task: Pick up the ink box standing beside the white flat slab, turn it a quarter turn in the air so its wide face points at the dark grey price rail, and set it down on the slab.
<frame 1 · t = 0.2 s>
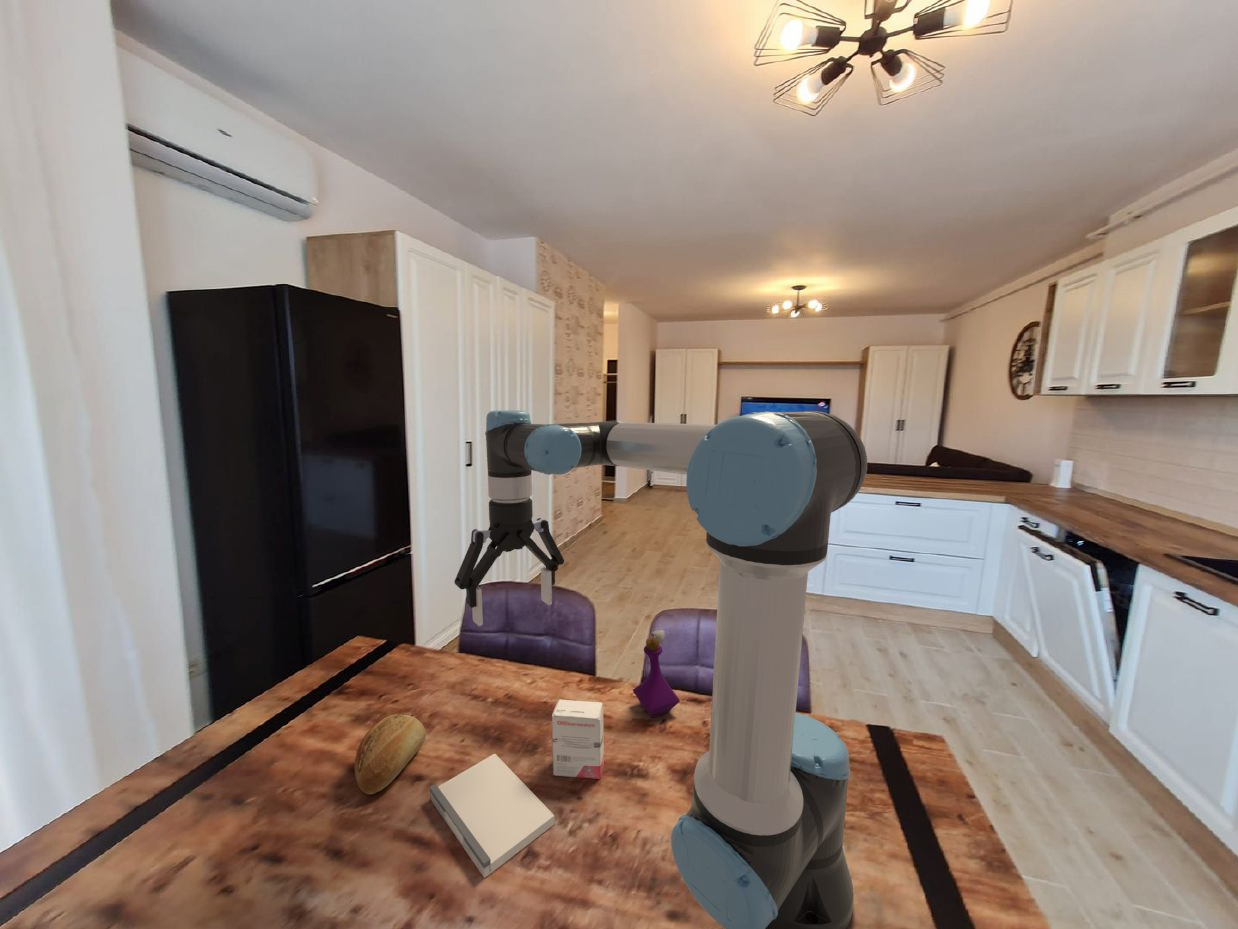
hand: (513, 612, 86), 27 cm above the table, fingers open, 13 cm apart
white flat slab: (490, 811, 76), on the table
perfume bottle: (655, 710, 101), on the table
bread roll: (391, 767, 85), on the table
ink box: (579, 769, 85), on the table
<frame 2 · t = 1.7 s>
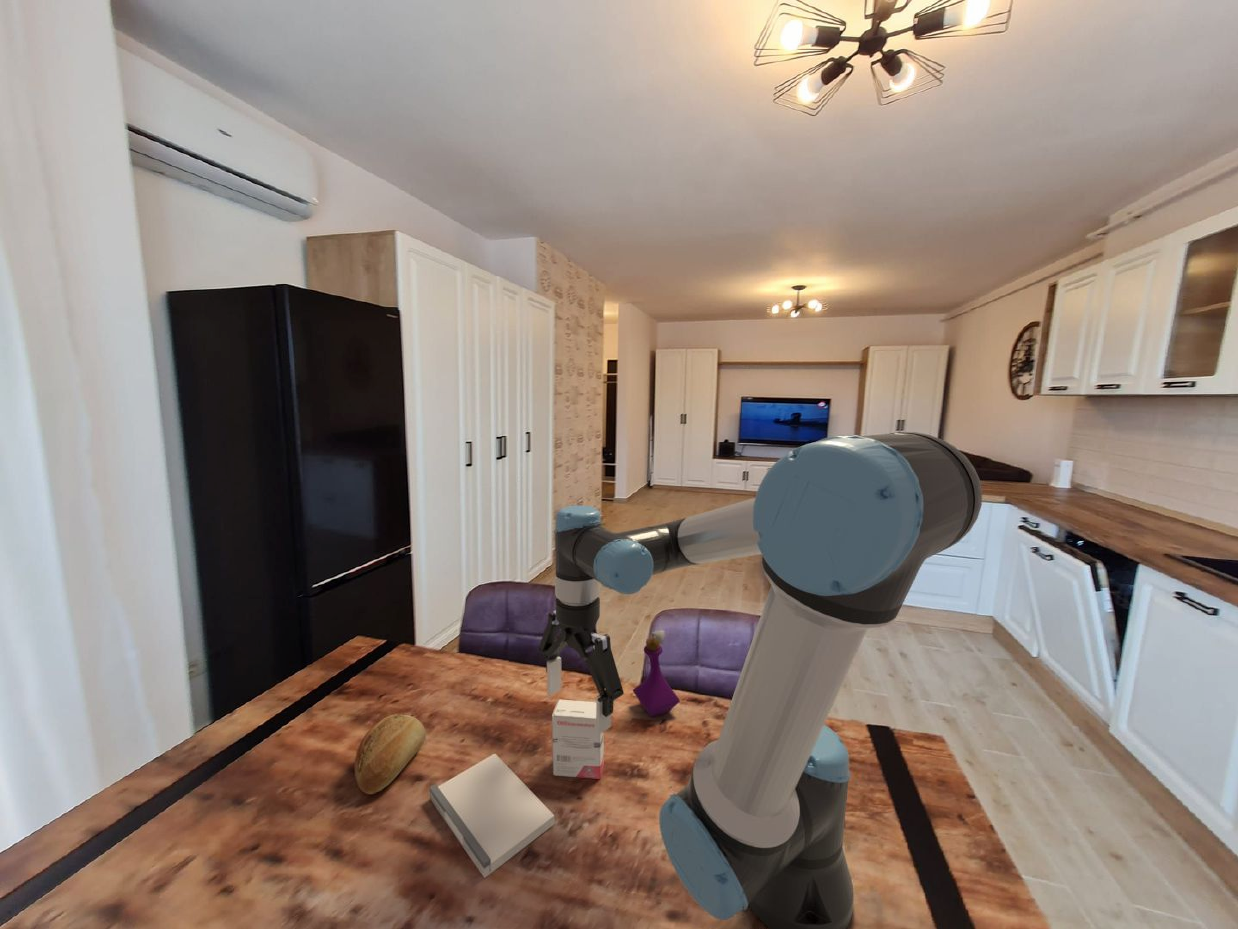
hand: (577, 710, 84), 11 cm above the table, fingers open, 13 cm apart
nothing on the table moved.
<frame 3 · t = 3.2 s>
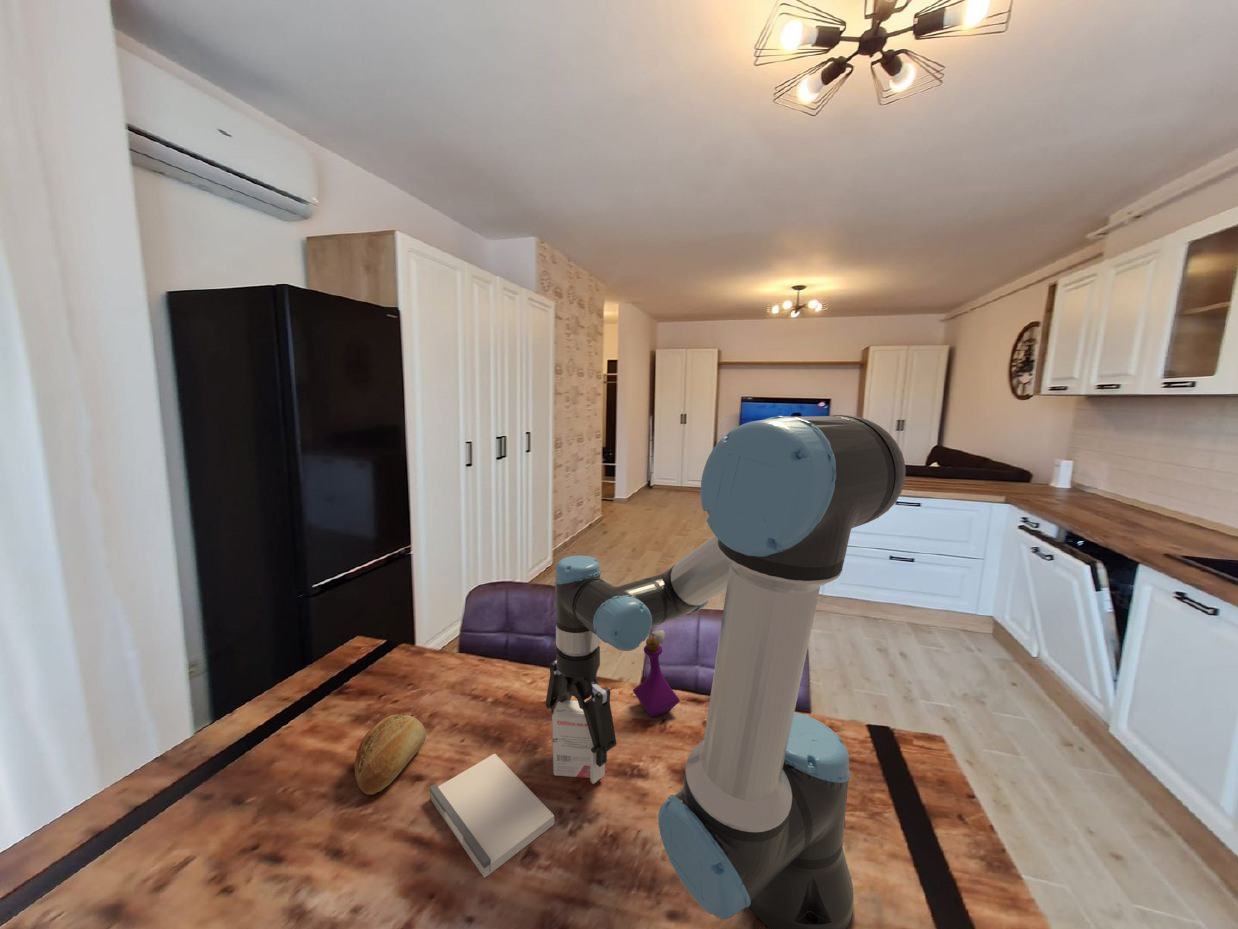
hand: (579, 762, 85), 1 cm above the table, fingers closed on ink box, 9 cm apart
ink box: (579, 769, 85), on the table, touching gripper
everything else where it was.
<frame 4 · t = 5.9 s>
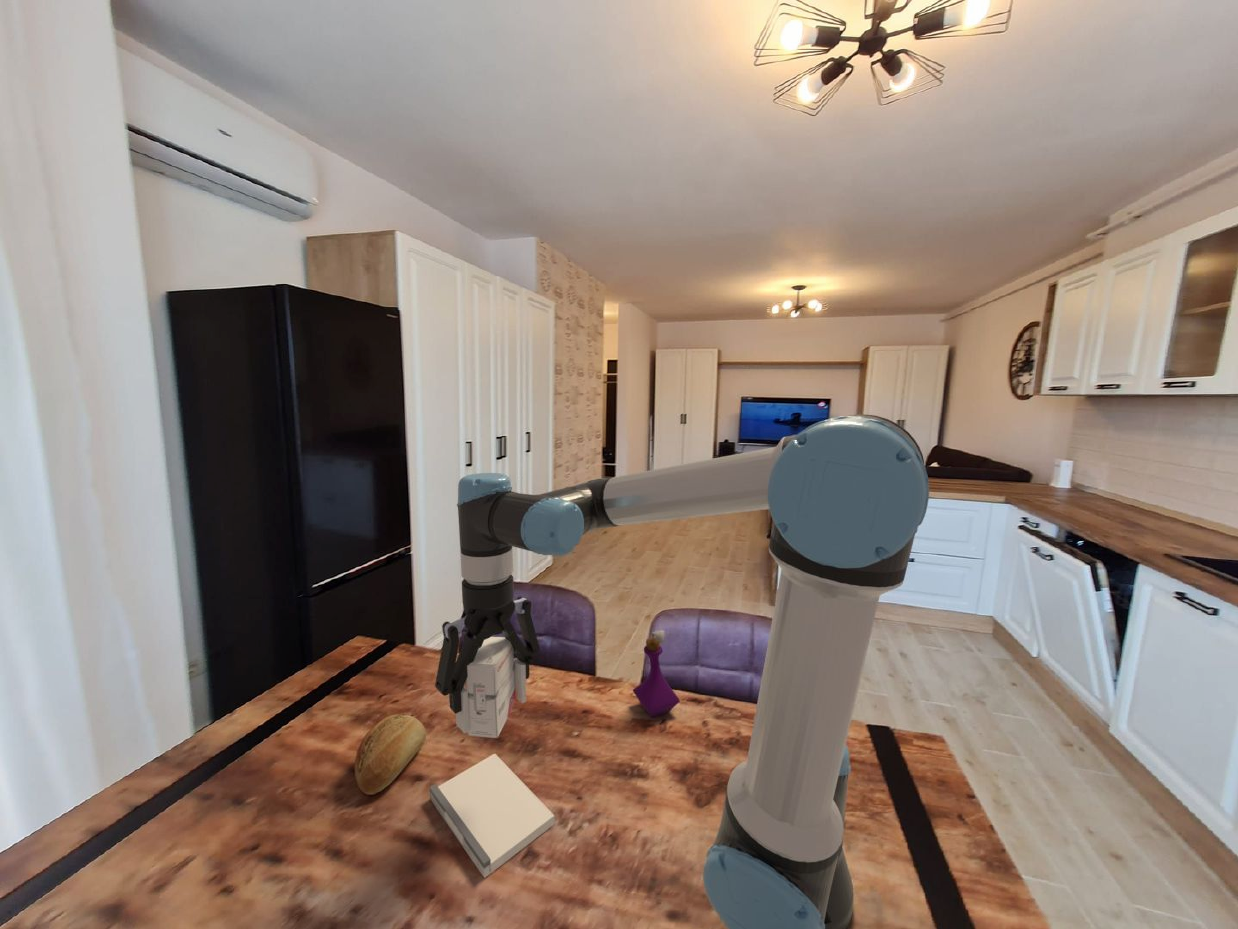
hand: (492, 712, 74), 17 cm above the table, fingers closed on ink box, 9 cm apart
ink box: (493, 720, 74), point 16 cm above the table, touching gripper
everything else where it was.
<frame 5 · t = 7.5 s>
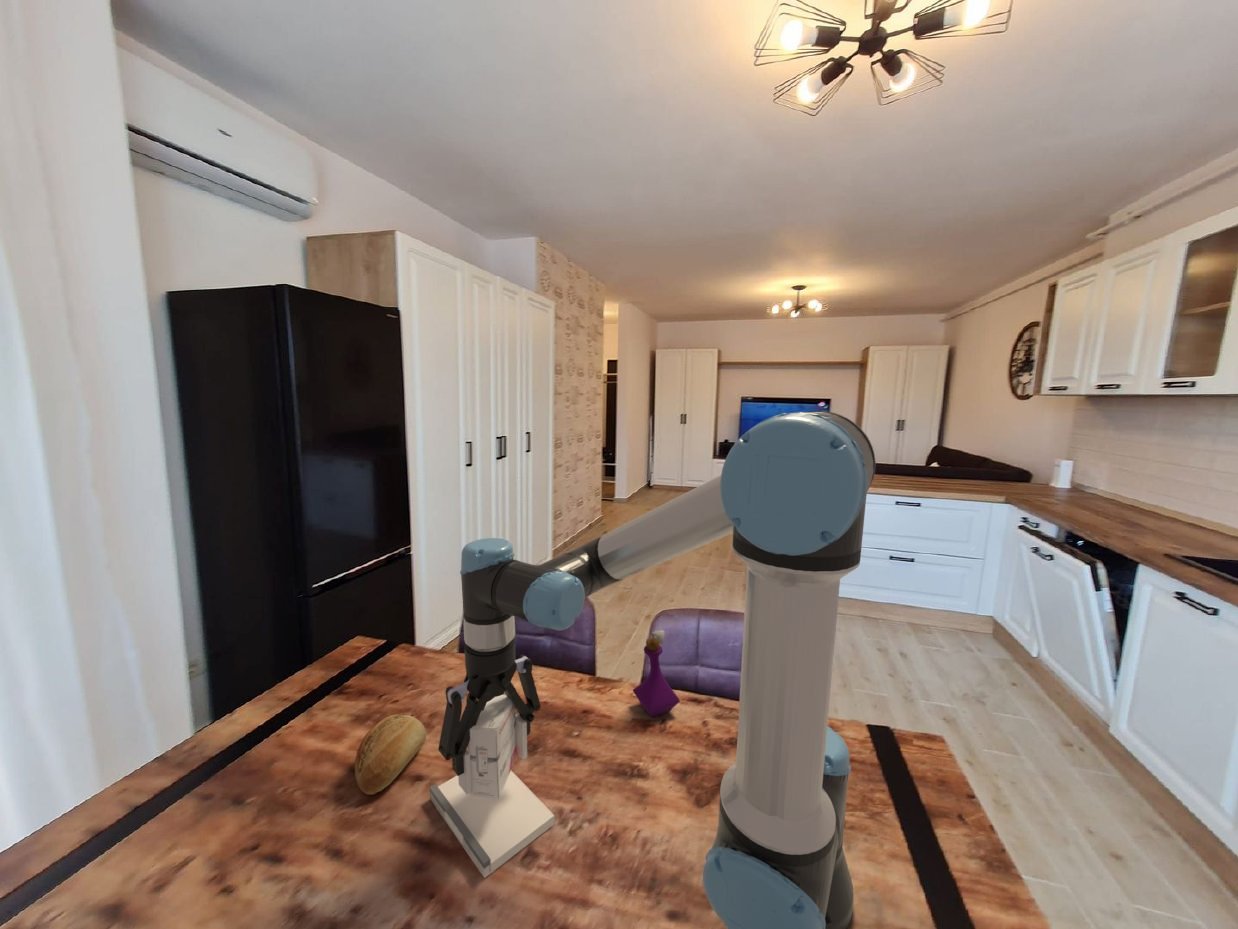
hand: (494, 770, 76), 7 cm above the table, fingers closed on ink box, 9 cm apart
ink box: (494, 777, 76), point 5 cm above the table, touching gripper
everything else where it was.
when the fingers open (4 cm above the table, at t = 8.6 s): ink box drops 1 cm, resting on white flat slab.
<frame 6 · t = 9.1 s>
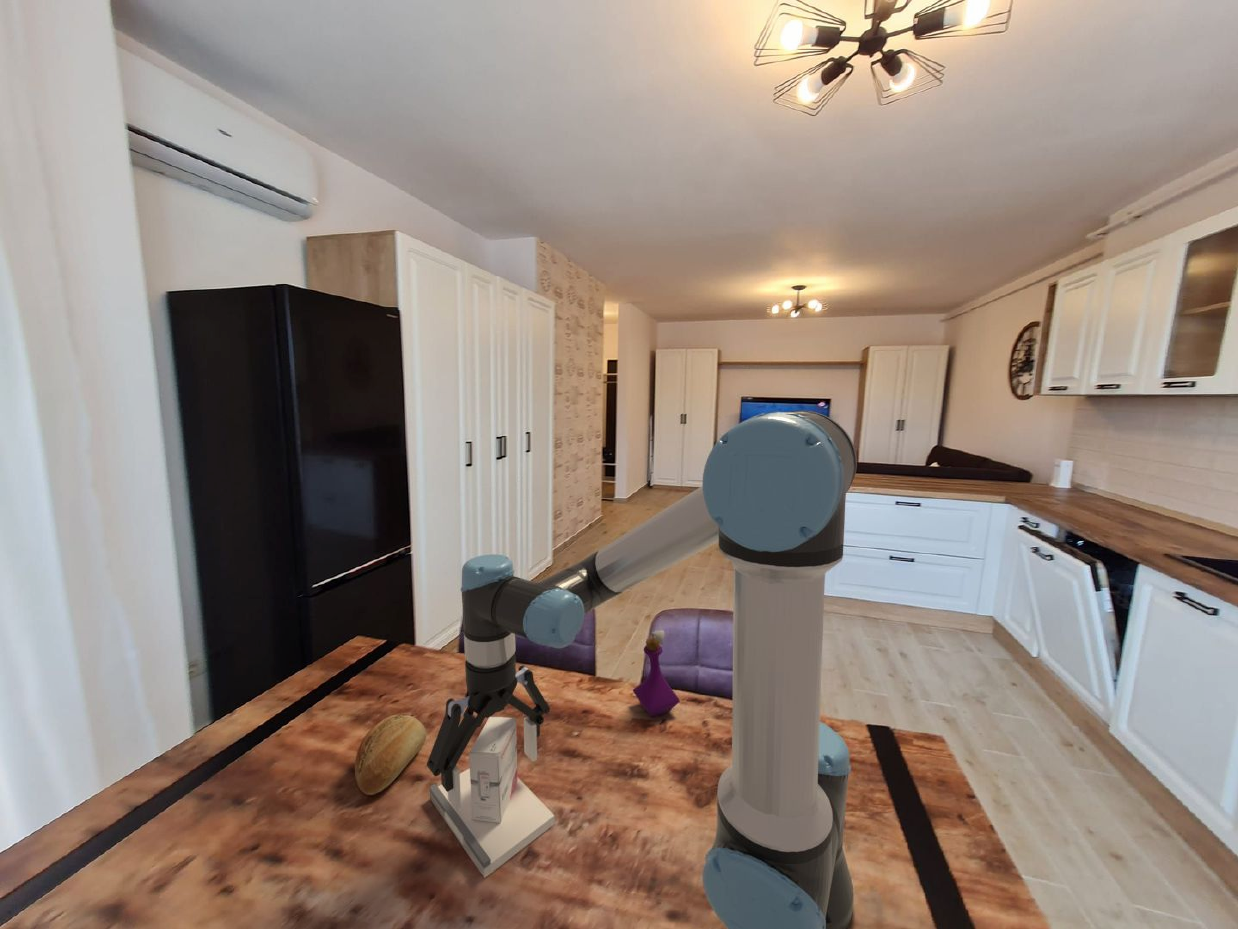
hand: (495, 779, 76), 5 cm above the table, fingers open, 13 cm apart
ink box: (496, 800, 76), point 1 cm above the table, touching white flat slab
everything else where it was.
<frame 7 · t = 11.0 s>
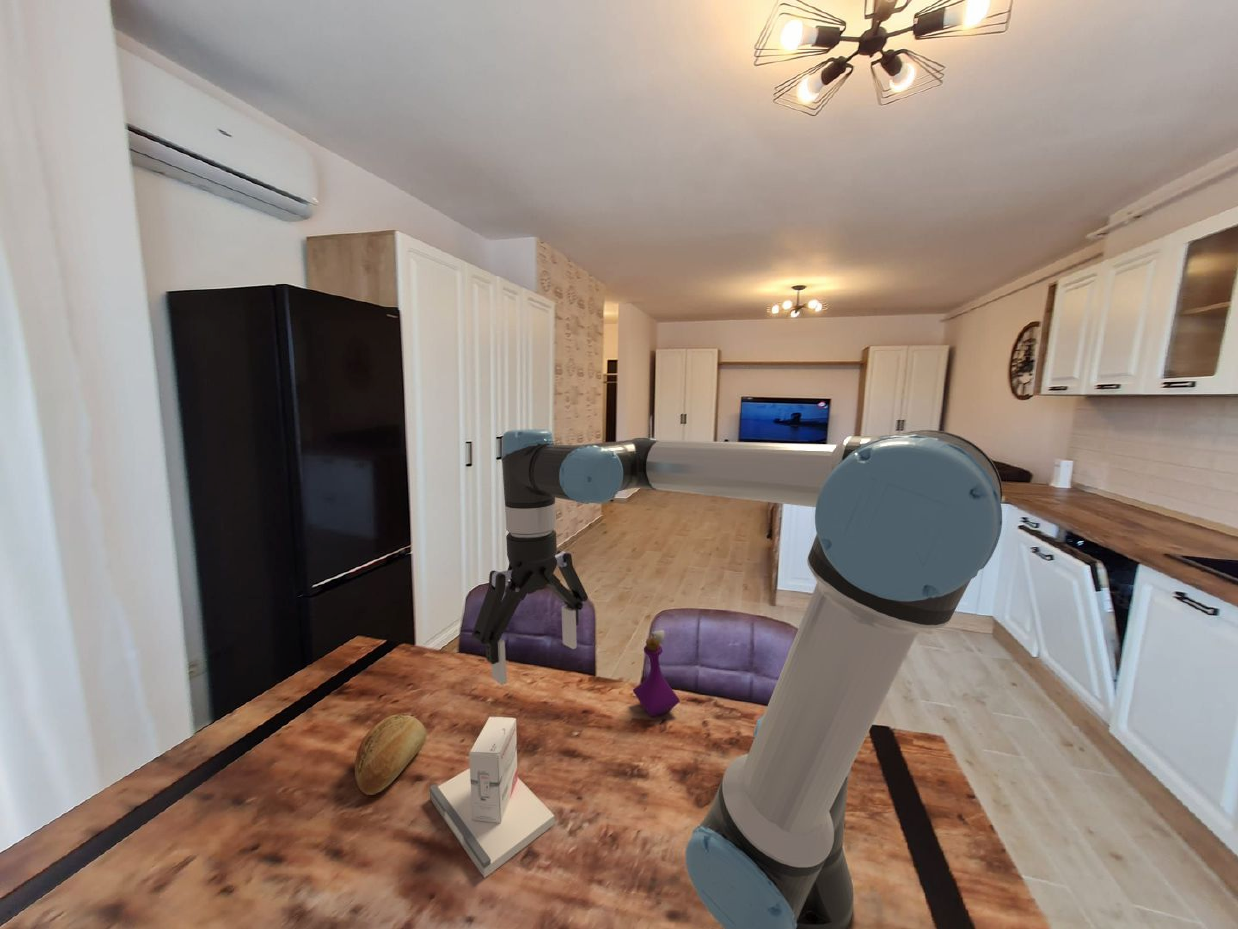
hand: (536, 662, 74), 25 cm above the table, fingers open, 13 cm apart
nothing on the table moved.
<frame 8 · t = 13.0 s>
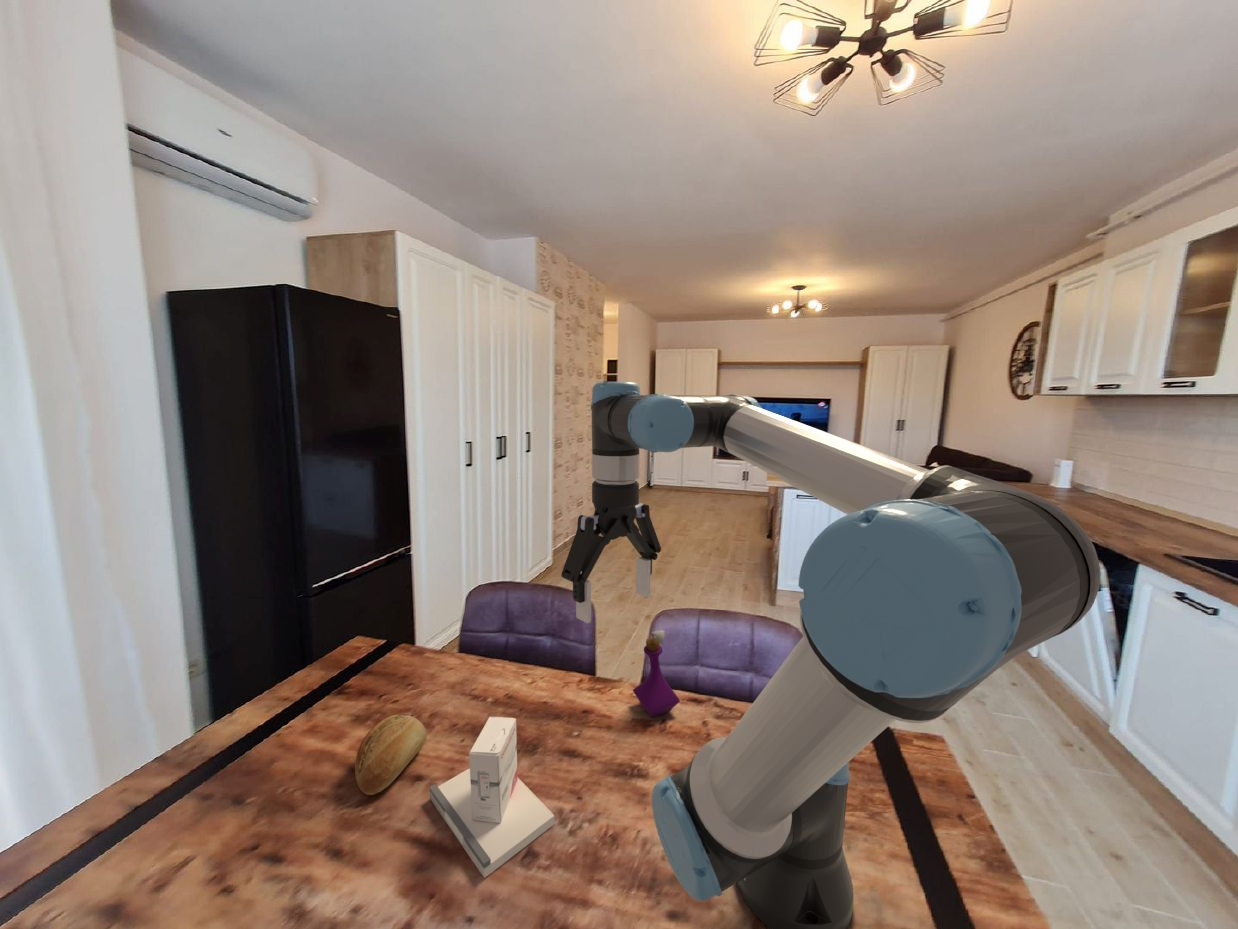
hand: (615, 606, 78), 32 cm above the table, fingers open, 13 cm apart
nothing on the table moved.
at the end: ink box inside the target area (0.1 cm from its centre), point 1.3 cm above the table; ink box tilted 0°; the gripper is holding nothing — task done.
